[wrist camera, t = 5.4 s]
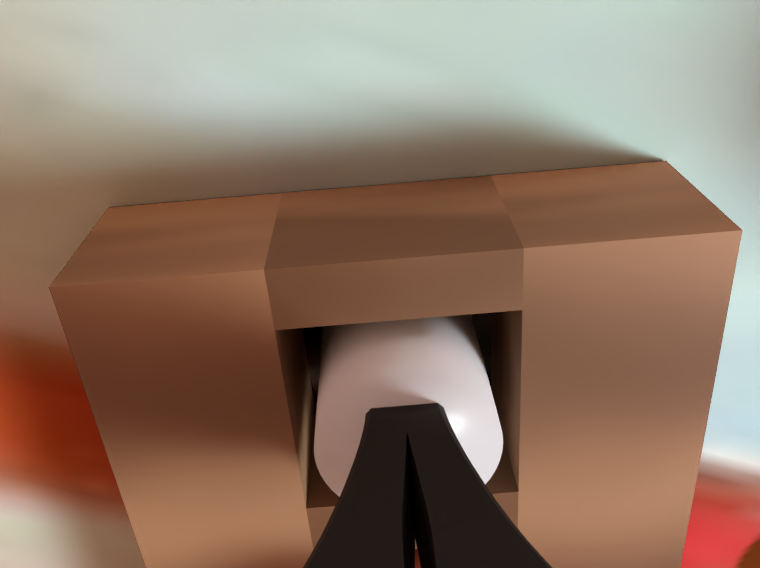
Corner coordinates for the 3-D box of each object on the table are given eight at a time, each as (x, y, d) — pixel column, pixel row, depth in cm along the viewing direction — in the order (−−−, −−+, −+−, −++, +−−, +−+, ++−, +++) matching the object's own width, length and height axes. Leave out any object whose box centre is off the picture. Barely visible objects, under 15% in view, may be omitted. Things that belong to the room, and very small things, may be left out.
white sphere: (474, 388, 18) (502, 509, 14) (331, 399, 18) (325, 523, 14) (472, 261, 16) (503, 365, 13) (313, 274, 16) (302, 381, 13)
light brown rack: (602, 690, 25) (636, 805, 22) (252, 716, 25) (238, 833, 22) (666, 160, 16) (742, 230, 12) (109, 207, 16) (49, 287, 13)
